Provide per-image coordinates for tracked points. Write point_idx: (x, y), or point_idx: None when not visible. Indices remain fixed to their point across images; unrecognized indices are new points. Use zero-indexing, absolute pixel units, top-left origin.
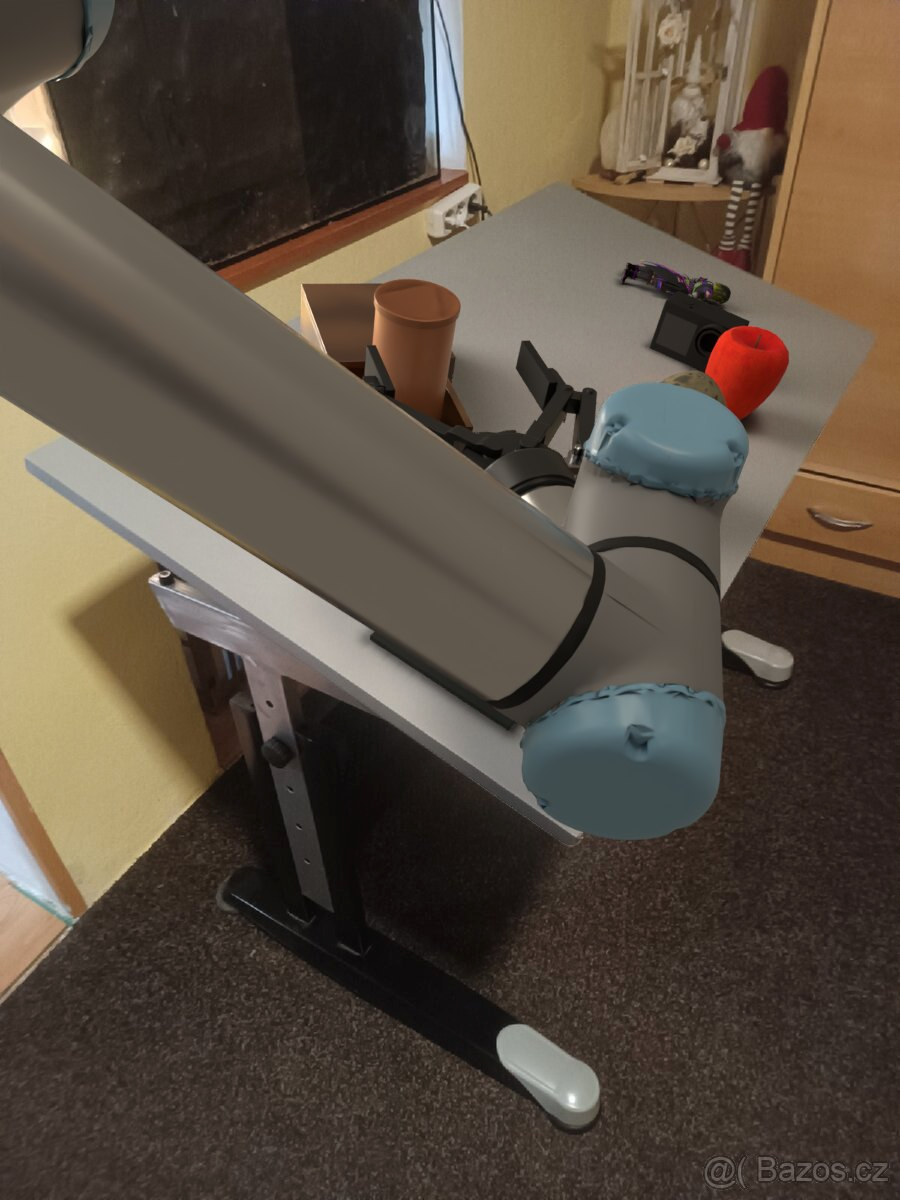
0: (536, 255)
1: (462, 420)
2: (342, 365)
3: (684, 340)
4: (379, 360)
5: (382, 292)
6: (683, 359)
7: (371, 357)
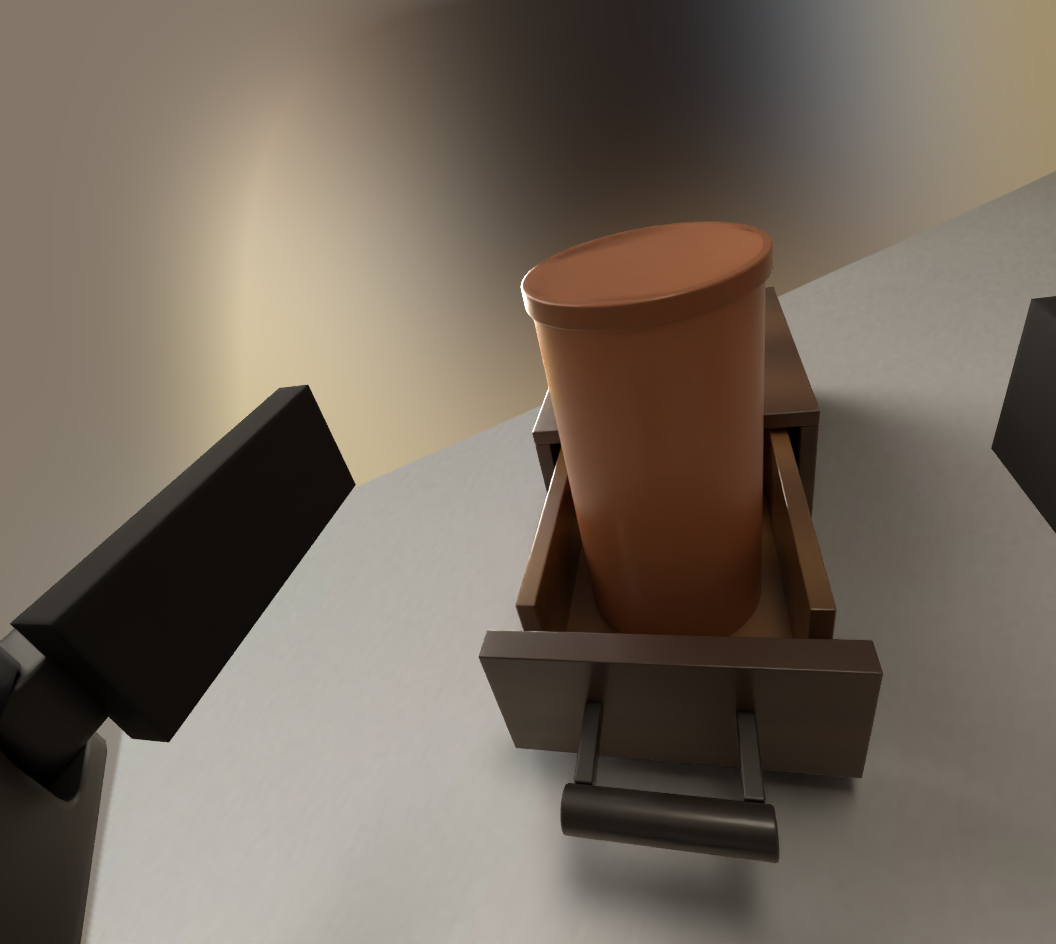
0: (1048, 239)
1: (803, 584)
2: (558, 437)
3: None
4: (235, 444)
5: (557, 260)
6: None
7: (230, 432)
